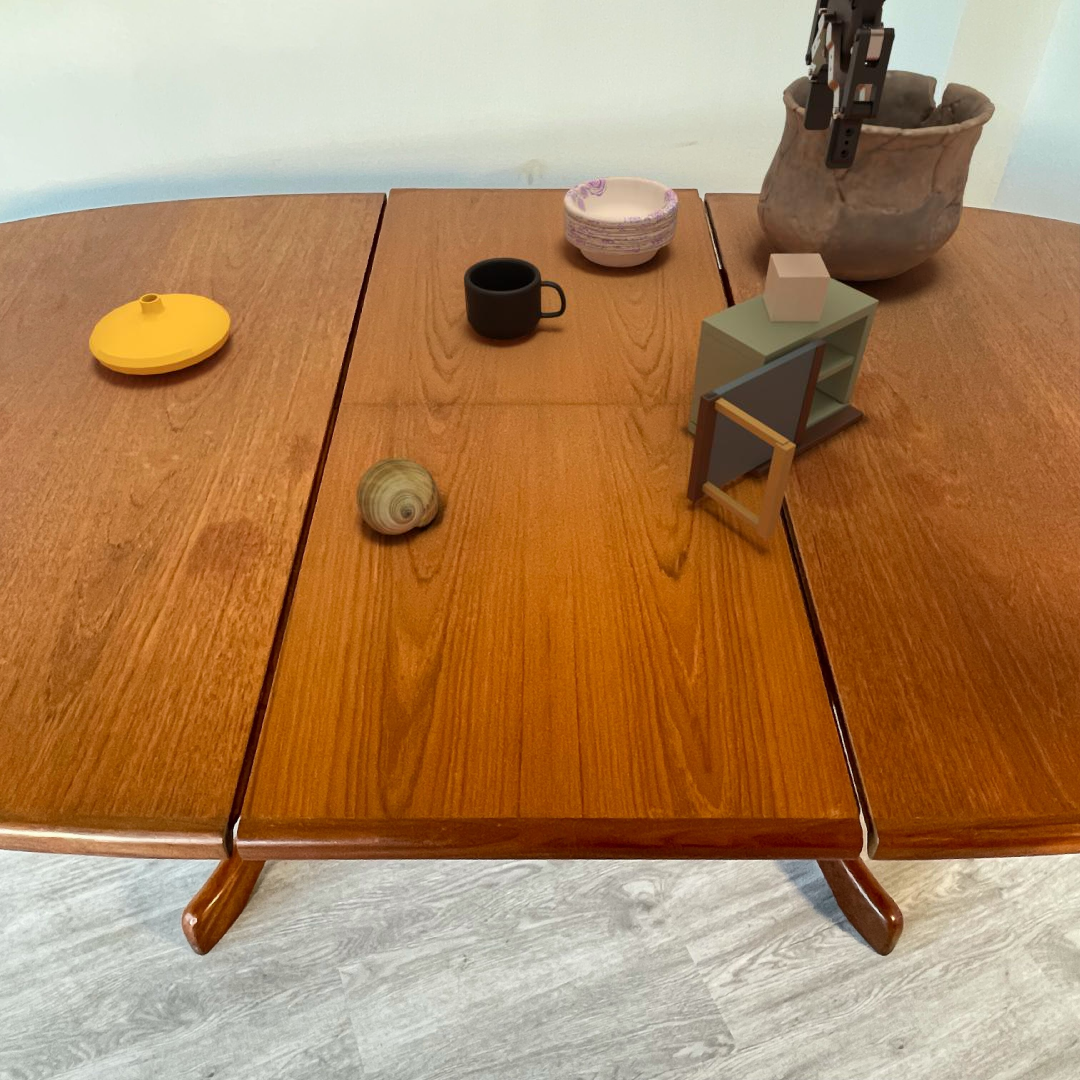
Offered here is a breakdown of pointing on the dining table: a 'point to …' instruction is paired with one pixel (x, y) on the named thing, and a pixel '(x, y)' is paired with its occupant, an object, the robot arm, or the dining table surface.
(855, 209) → the pot
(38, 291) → the dining table surface
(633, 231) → the paper bowls
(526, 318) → the mug
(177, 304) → the vase
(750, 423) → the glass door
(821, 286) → the block
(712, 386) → the cabinet
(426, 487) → the seashell
